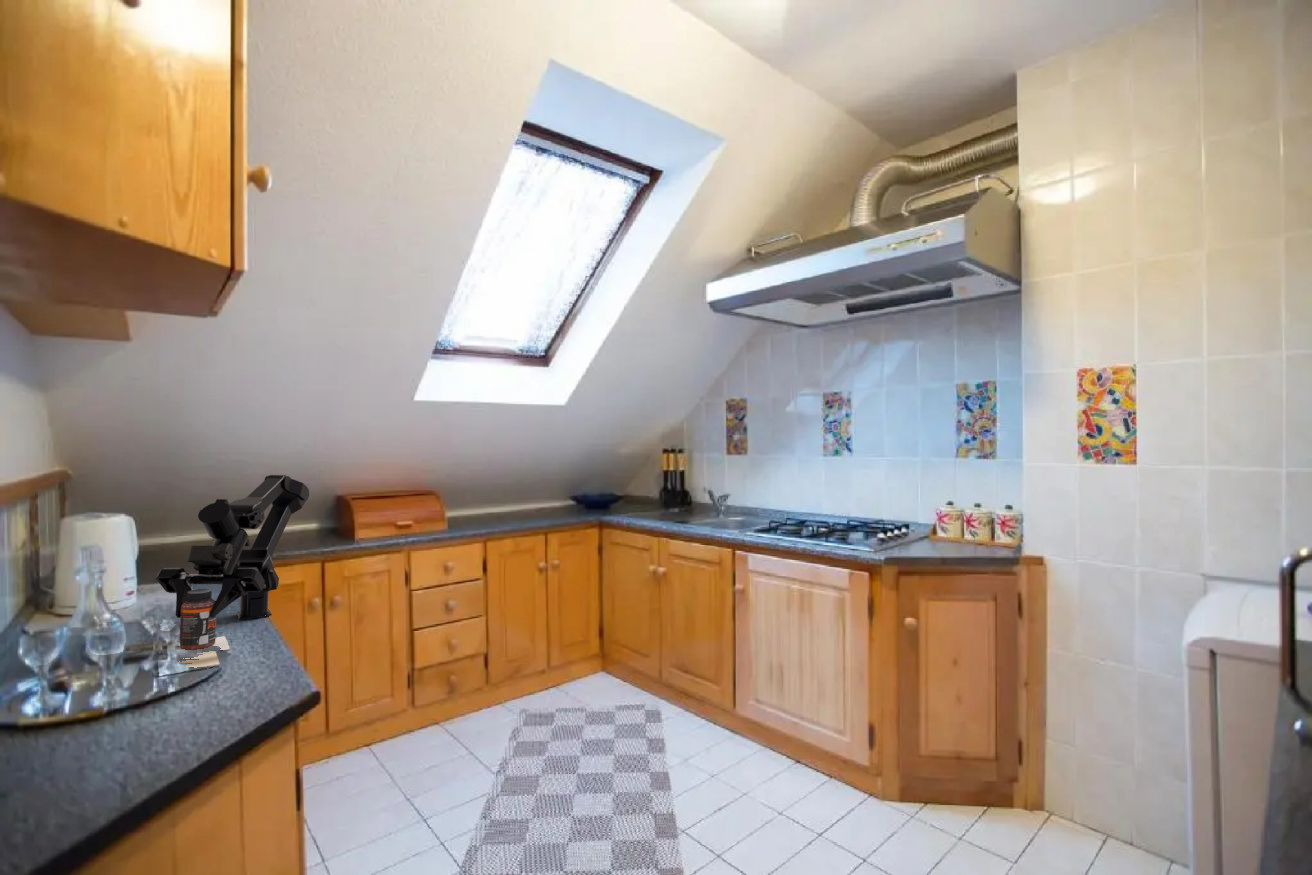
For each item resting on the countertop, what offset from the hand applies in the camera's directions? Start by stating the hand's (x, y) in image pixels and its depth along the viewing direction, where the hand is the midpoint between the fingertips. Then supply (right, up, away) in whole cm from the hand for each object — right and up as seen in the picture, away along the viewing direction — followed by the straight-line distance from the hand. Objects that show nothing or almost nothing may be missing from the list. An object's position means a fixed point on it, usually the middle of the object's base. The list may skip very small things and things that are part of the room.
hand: (194, 616), depth 126 cm
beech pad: (+5, -7, -8) cm, 12 cm away
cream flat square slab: (0, -7, +1) cm, 7 cm away
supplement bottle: (0, -7, +1) cm, 7 cm away
